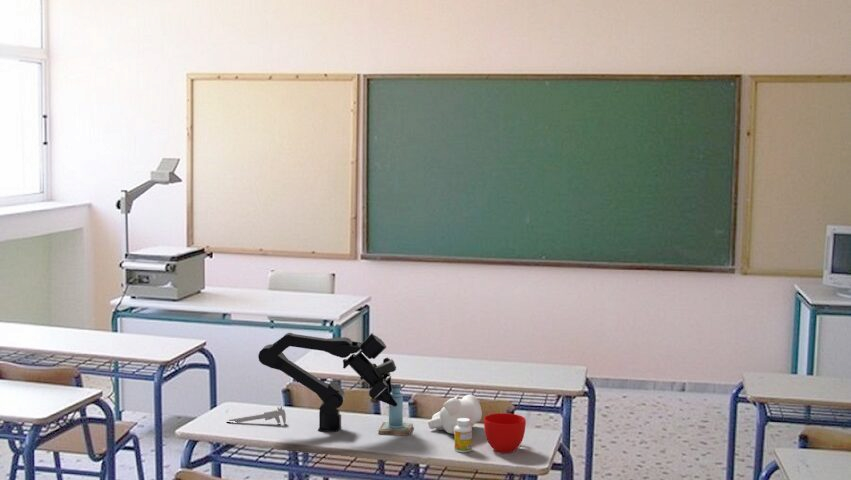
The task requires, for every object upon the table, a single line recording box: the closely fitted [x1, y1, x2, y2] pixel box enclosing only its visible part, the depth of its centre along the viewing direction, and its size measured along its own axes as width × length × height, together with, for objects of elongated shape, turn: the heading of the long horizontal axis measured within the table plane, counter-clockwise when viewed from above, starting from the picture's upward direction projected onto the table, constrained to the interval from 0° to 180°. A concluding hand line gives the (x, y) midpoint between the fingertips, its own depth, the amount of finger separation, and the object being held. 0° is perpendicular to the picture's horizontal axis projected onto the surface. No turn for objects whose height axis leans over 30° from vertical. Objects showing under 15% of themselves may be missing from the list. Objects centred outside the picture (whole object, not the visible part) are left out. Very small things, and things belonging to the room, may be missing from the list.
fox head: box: [427, 393, 483, 436], centre depth 333 cm, size 13×17×20 cm
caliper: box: [228, 406, 287, 425], centre depth 341 cm, size 20×1×6 cm, turn 88°
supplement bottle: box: [453, 418, 473, 453], centre depth 313 cm, size 5×5×10 cm
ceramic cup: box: [483, 412, 527, 454], centre depth 315 cm, size 13×17×10 cm
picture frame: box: [377, 421, 414, 436], centre depth 334 cm, size 10×10×1 cm
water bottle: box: [388, 383, 404, 428], centre depth 334 cm, size 5×5×14 cm
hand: (397, 402), depth 333 cm, fingers open, 9 cm apart
